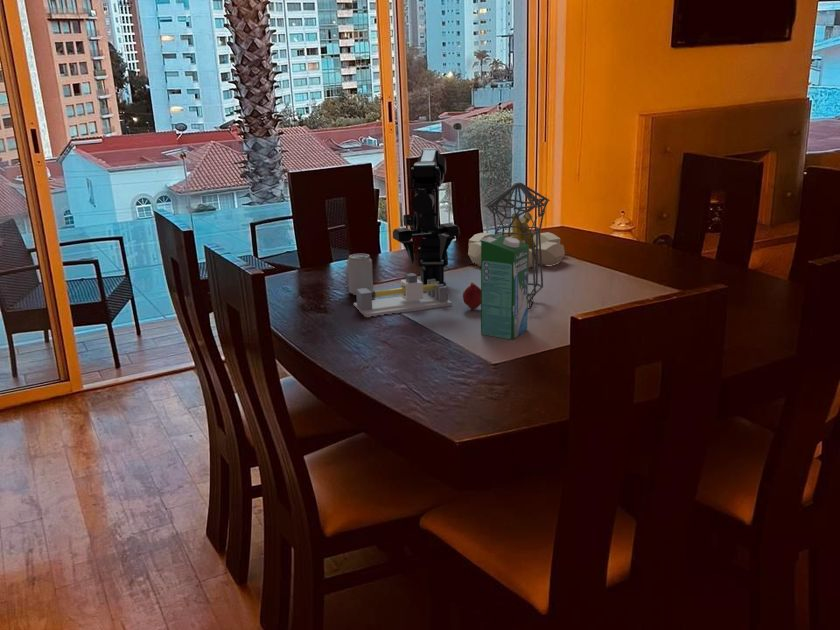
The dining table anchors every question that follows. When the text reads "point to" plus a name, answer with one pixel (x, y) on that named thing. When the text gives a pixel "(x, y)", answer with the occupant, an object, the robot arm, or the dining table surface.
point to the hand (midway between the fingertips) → (426, 261)
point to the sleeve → (412, 288)
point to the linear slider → (401, 300)
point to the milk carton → (504, 286)
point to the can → (359, 272)
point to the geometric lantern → (530, 197)
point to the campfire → (549, 242)
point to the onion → (472, 296)
